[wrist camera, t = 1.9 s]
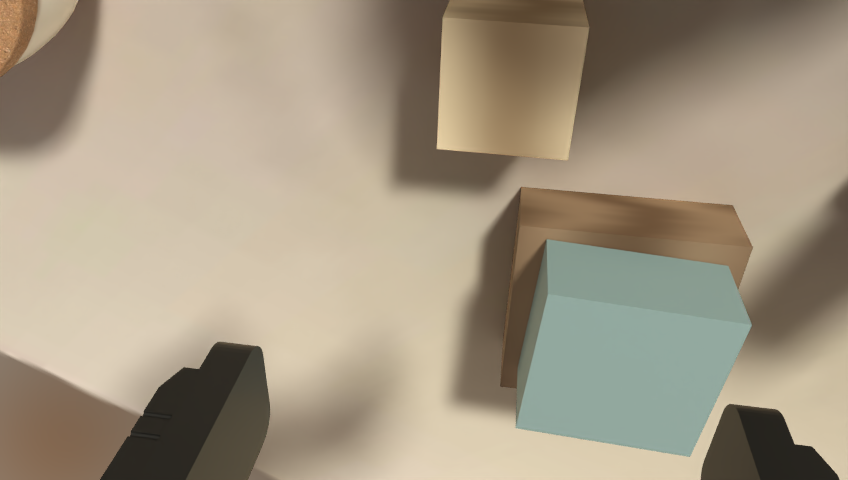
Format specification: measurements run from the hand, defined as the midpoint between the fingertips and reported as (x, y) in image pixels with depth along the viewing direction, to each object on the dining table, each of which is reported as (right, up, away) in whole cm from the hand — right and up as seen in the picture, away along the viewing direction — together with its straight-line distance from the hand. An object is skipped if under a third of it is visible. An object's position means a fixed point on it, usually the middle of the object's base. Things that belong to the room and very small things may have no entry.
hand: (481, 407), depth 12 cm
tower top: (+8, -1, +21) cm, 22 cm away
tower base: (+9, +1, +24) cm, 26 cm away
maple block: (+3, +12, +18) cm, 21 cm away
